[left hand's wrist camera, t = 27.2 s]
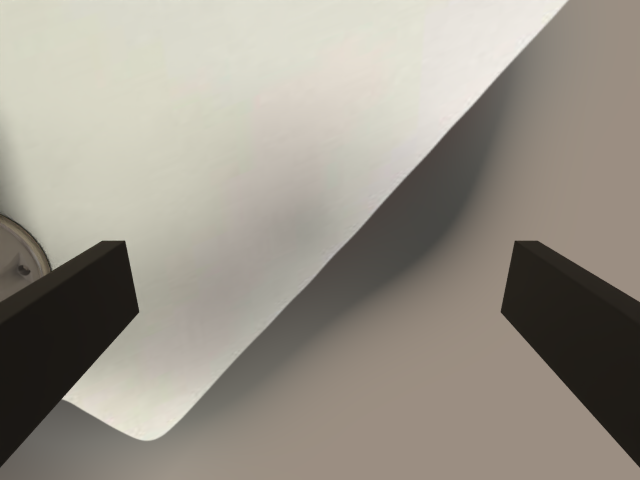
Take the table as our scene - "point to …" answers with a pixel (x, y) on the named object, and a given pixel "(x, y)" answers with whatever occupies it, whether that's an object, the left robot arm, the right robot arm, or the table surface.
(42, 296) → the left robot arm
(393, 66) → the table surface
